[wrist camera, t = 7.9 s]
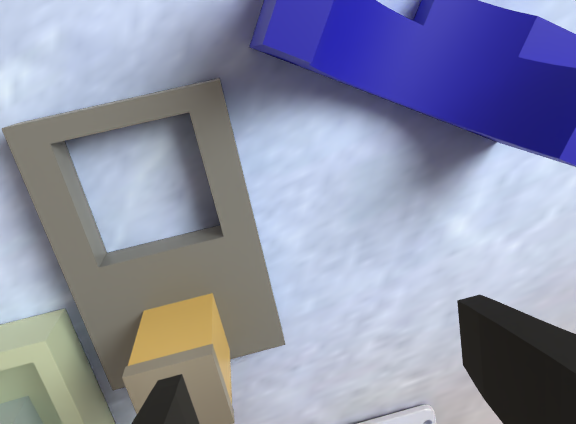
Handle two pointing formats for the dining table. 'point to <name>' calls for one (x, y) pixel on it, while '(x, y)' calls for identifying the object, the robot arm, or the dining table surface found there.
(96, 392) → the parts tray
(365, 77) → the cable clip
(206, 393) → the block
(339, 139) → the dining table surface
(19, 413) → the grey-green rectangular block
